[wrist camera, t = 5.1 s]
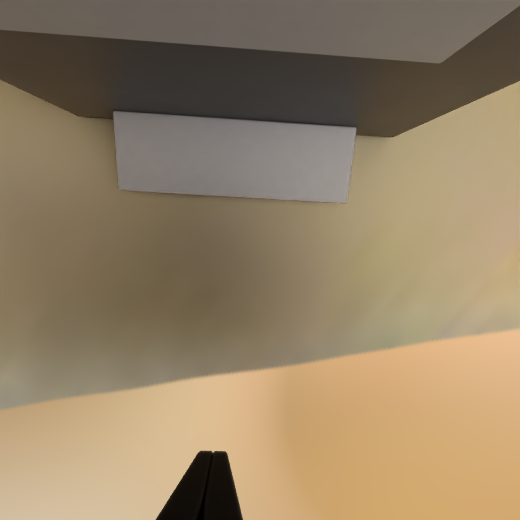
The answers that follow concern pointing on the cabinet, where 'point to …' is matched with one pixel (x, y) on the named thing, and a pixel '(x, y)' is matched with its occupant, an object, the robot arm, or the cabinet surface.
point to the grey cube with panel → (256, 81)
